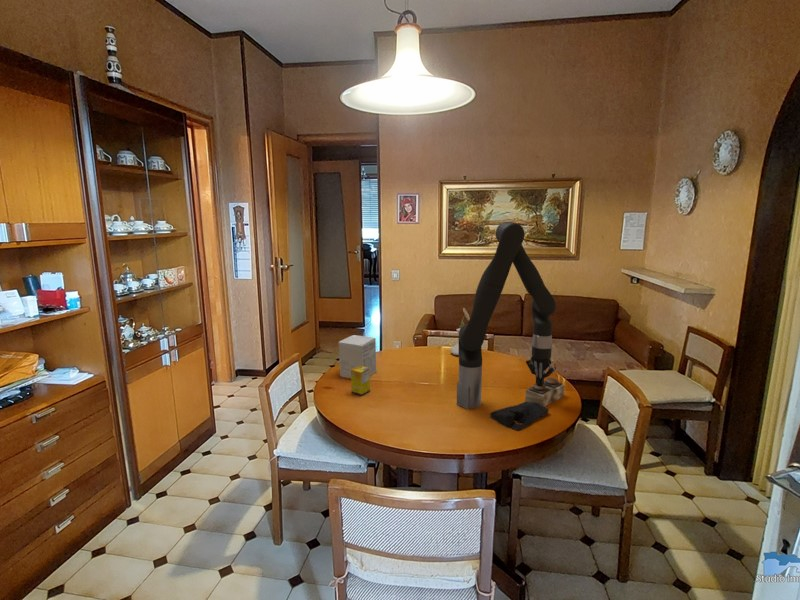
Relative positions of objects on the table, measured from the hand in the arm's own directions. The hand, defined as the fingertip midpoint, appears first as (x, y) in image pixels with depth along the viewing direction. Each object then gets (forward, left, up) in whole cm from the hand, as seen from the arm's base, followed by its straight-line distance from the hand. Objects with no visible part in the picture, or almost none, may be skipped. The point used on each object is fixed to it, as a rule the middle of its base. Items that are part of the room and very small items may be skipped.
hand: (539, 385), depth 177 cm
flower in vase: (+20, +62, -7) cm, 65 cm away
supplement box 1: (-39, +75, -7) cm, 84 cm away
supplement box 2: (-50, +57, -7) cm, 76 cm away
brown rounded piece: (0, 0, -7) cm, 7 cm away
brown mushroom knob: (+9, 0, -7) cm, 12 cm away
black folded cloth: (-16, -2, -8) cm, 18 cm away
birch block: (+4, 0, -7) cm, 8 cm away
